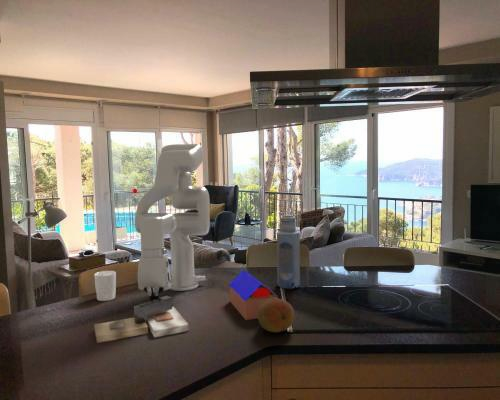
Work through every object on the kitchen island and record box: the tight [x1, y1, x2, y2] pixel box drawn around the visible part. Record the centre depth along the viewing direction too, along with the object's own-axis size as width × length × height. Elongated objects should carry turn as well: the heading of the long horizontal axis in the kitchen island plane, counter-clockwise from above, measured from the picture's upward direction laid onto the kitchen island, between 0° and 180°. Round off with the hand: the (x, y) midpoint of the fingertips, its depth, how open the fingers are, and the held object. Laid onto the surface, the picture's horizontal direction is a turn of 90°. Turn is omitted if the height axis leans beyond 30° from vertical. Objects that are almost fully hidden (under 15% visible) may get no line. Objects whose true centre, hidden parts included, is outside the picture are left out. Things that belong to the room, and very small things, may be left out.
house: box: [228, 269, 279, 321], centre depth 139 cm, size 12×20×12 cm, turn 18°
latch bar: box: [133, 295, 173, 323], centre depth 126 cm, size 14×3×5 cm, turn 142°
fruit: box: [257, 298, 295, 333], centre depth 119 cm, size 12×13×10 cm
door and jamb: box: [93, 306, 190, 344], centre depth 123 cm, size 26×18×2 cm
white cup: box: [94, 270, 117, 302], centre depth 153 cm, size 8×8×10 cm
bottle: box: [276, 214, 301, 289], centre depth 165 cm, size 10×10×30 cm
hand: (154, 306), depth 132 cm, fingers closed
